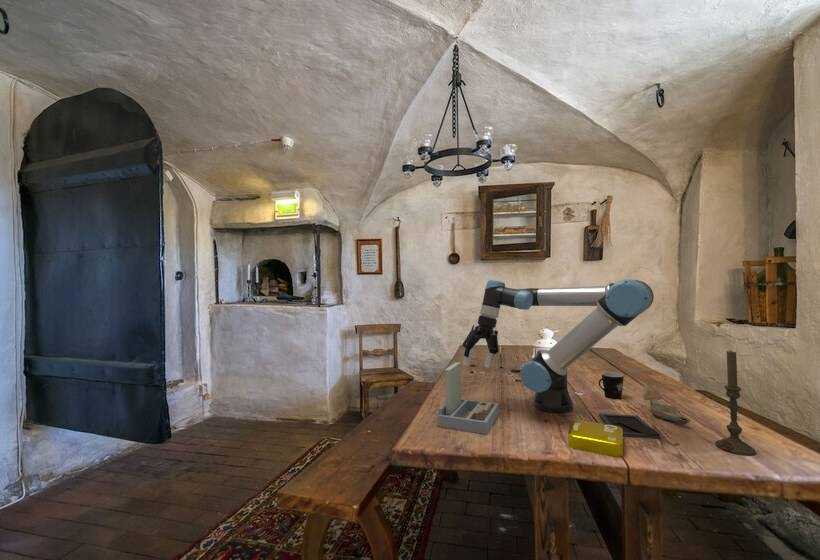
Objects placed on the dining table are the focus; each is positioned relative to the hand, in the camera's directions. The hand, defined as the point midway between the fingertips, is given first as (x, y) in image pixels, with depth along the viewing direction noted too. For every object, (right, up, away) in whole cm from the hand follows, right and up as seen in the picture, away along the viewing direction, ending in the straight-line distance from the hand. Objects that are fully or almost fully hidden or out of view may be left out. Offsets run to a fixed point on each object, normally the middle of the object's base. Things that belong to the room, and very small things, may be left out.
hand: (476, 366), depth 146 cm
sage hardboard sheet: (-10, -18, -9) cm, 22 cm away
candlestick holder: (+71, -15, -39) cm, 83 cm away
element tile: (+32, -17, -33) cm, 49 cm away
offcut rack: (-5, -17, -11) cm, 21 cm away
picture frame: (+49, -17, -22) cm, 56 cm away
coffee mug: (+61, -16, +10) cm, 64 cm away
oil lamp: (+68, -16, -14) cm, 71 cm away
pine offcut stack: (0, -17, -14) cm, 22 cm away
